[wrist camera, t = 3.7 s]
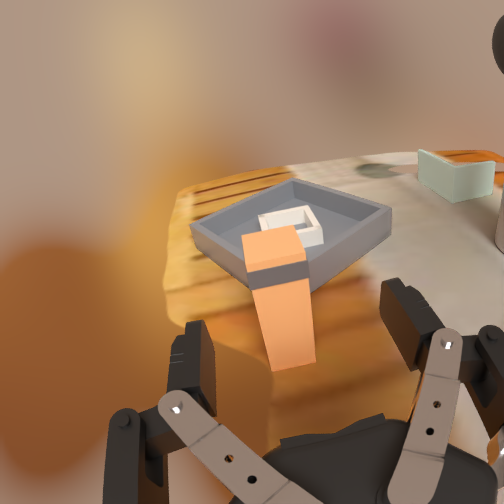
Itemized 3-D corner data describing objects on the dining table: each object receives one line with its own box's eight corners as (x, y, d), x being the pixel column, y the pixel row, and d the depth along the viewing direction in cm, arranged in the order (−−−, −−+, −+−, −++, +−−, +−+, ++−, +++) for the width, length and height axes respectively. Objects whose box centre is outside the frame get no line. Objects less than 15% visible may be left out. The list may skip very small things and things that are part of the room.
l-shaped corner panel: (491, 196, 51) (495, 162, 47) (451, 206, 51) (454, 168, 47) (457, 176, 61) (458, 144, 57) (417, 183, 61) (417, 149, 57)
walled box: (295, 199, 62) (292, 177, 60) (391, 234, 46) (391, 207, 43) (196, 248, 53) (189, 224, 51) (281, 313, 37) (276, 282, 34)
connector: (265, 339, 34) (240, 235, 27) (307, 330, 34) (294, 223, 27) (271, 372, 30) (244, 265, 23) (317, 362, 30) (307, 252, 23)
